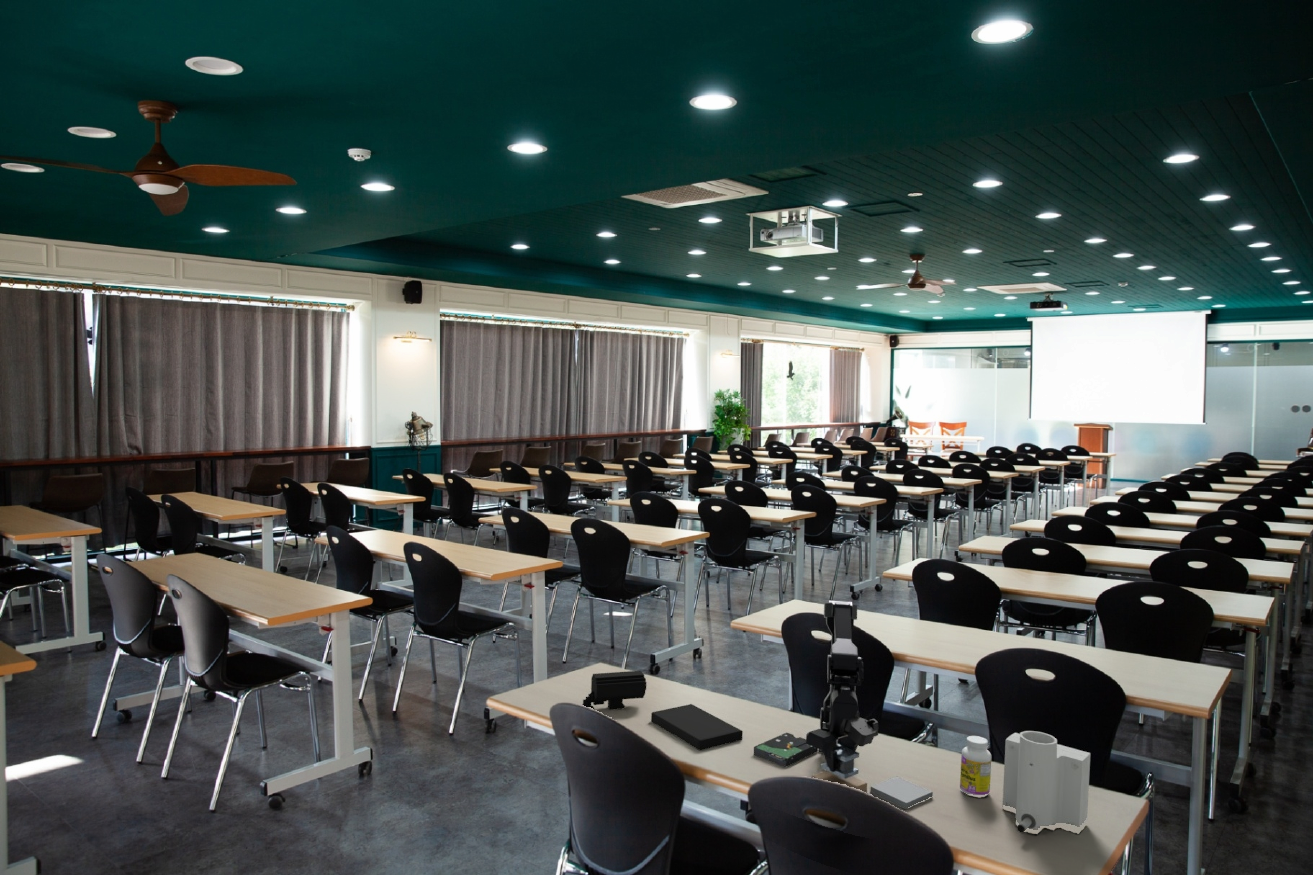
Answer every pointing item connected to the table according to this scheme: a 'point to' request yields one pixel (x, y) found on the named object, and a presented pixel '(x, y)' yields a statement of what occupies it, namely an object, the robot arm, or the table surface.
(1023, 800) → the grey cylinder bracket
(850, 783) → the stand
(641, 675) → the security camera
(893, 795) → the stand
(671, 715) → the external hard drive
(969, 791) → the supplement bottle
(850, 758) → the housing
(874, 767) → the table surface
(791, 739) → the disk drive
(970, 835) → the table surface
